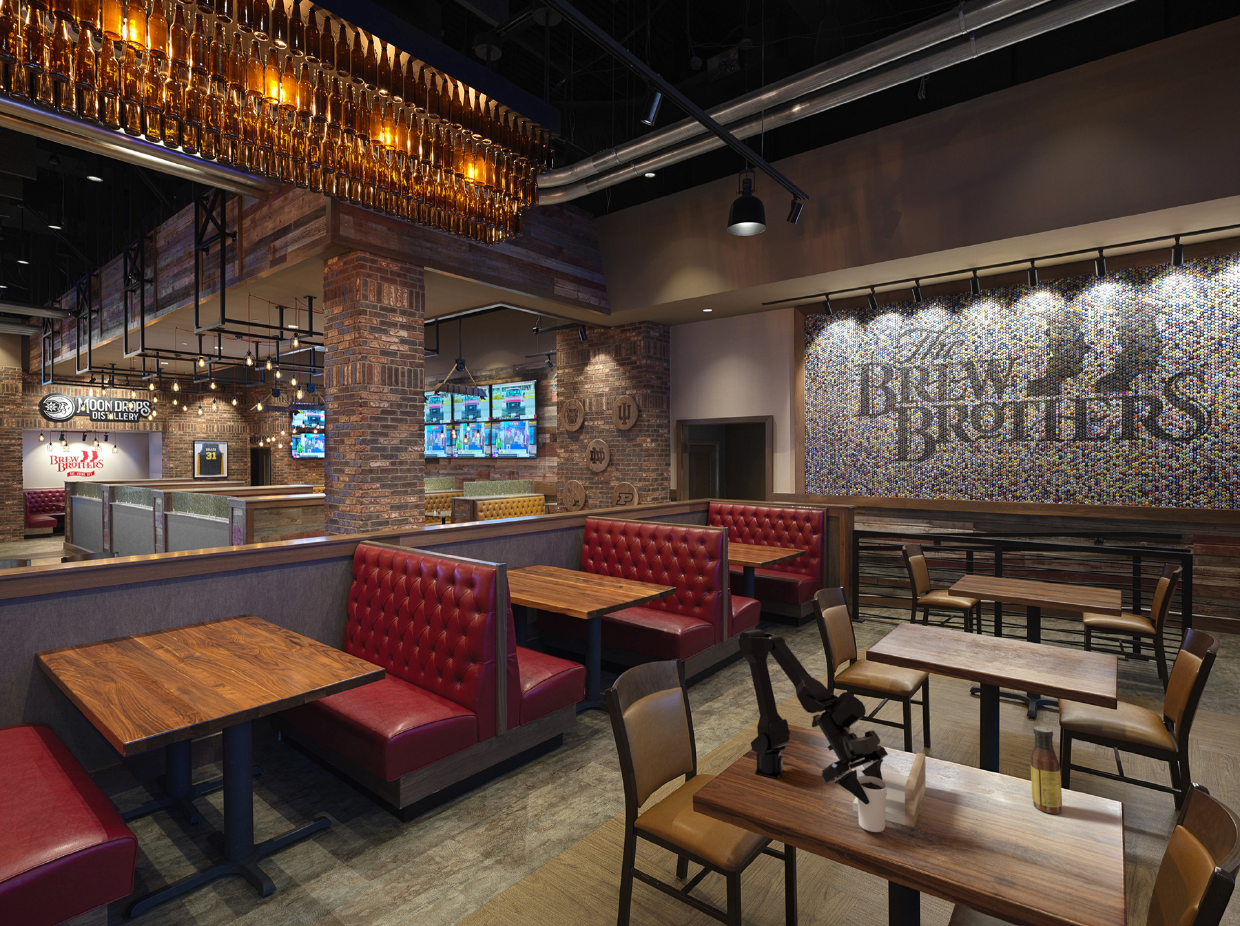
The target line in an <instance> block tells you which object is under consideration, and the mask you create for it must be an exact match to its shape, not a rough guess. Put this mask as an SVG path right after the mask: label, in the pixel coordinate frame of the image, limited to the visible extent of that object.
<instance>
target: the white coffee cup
mask: <svg viewBox="0 0 1240 926" xmlns="http://www.w3.org/2000/svg"><path fill="white" fill-rule="evenodd" d="M857 779H858V781H859V783H860V785H861V786H862V788H863V790H864V792H865V794H866V796H867V798H868V800H869V804H867V805H866V804H865V803H863V802H862V801H861V800H860V799H858V812H857V813H858V825H859V826H860V827H861V828H863V829H864V830H866V831H868V832H873V833H881V832H883V831H884V830H885V827H886V820H885V812H886V792H887V785H886V783H885V782H884V781H883V780H881V779H879V778H876V777H872V776H865V775H862V776H858V777H857Z"/></svg>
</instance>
